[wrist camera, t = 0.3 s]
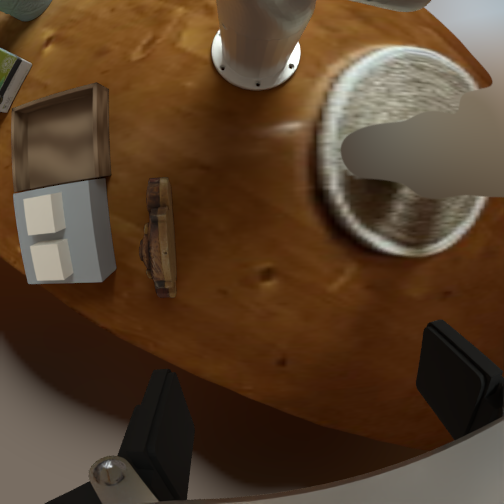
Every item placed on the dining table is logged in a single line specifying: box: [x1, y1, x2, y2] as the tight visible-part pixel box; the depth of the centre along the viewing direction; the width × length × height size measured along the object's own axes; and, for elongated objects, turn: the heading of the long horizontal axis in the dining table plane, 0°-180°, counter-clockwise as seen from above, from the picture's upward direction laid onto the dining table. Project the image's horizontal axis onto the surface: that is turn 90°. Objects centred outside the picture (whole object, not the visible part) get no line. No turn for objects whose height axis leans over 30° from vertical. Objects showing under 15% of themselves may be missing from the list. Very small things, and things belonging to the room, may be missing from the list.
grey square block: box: [13, 178, 116, 284], centre depth 41 cm, size 14×14×6 cm
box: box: [11, 83, 111, 192], centre depth 38 cm, size 13×16×4 cm
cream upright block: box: [30, 239, 73, 281], centre depth 38 cm, size 5×5×3 cm
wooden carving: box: [139, 177, 176, 298], centre depth 41 cm, size 16×5×10 cm, turn 5°
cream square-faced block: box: [23, 192, 66, 235], centre depth 36 cm, size 5×5×3 cm
